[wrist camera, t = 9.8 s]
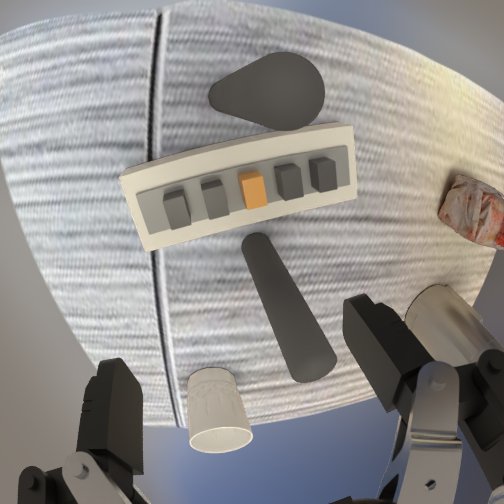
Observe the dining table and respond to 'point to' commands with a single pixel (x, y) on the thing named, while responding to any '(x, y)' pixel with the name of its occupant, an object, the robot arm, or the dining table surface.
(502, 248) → the food item
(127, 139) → the dining table surface
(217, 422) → the white cup
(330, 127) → the breaker panel
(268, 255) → the dark grey cylinder rod
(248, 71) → the dark grey post
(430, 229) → the dining table surface
